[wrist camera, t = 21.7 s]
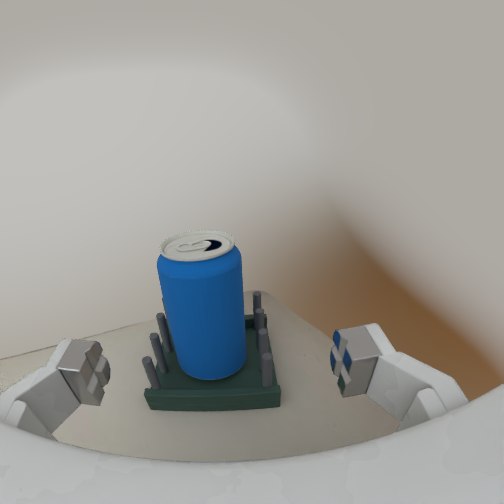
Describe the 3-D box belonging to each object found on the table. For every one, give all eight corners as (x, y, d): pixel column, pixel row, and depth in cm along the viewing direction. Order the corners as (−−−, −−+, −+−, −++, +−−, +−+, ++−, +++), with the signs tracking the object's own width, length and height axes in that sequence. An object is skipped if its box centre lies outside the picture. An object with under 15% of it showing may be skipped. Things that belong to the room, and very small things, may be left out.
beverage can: (256, 375, 24) (252, 252, 19) (185, 391, 22) (154, 267, 18) (236, 333, 30) (228, 224, 25) (175, 345, 28) (153, 235, 23)
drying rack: (266, 329, 32) (265, 287, 30) (279, 407, 22) (282, 363, 20) (167, 333, 31) (158, 292, 29) (150, 409, 21) (131, 367, 19)
